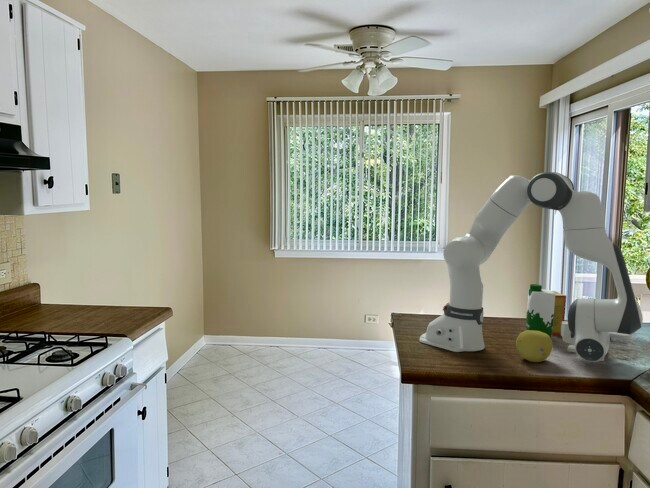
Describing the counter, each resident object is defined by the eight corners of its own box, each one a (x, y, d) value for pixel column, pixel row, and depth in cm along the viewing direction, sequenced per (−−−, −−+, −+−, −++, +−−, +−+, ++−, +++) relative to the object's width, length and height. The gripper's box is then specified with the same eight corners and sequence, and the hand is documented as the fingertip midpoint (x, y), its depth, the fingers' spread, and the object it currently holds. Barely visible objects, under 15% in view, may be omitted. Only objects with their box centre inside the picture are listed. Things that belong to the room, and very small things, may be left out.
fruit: (558, 364, 143) (561, 333, 142) (529, 367, 140) (532, 335, 139) (535, 353, 153) (537, 324, 152) (508, 355, 150) (510, 326, 149)
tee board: (565, 354, 153) (565, 351, 153) (570, 344, 164) (570, 341, 164) (604, 361, 146) (604, 358, 146) (606, 350, 158) (606, 347, 158)
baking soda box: (563, 335, 175) (566, 294, 174) (546, 335, 175) (549, 294, 174) (550, 328, 185) (553, 289, 183) (534, 328, 185) (537, 289, 183)
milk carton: (523, 332, 177) (526, 282, 175) (548, 334, 175) (551, 284, 174) (528, 339, 169) (532, 286, 167) (554, 341, 167) (558, 288, 165)
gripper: (634, 333, 136) (634, 324, 148) (558, 322, 148) (564, 313, 159) (632, 353, 137) (632, 342, 148) (557, 340, 148) (562, 331, 160)
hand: (596, 327), depth 154 cm, fingers closed on sprinkles bottle, 4 cm apart
